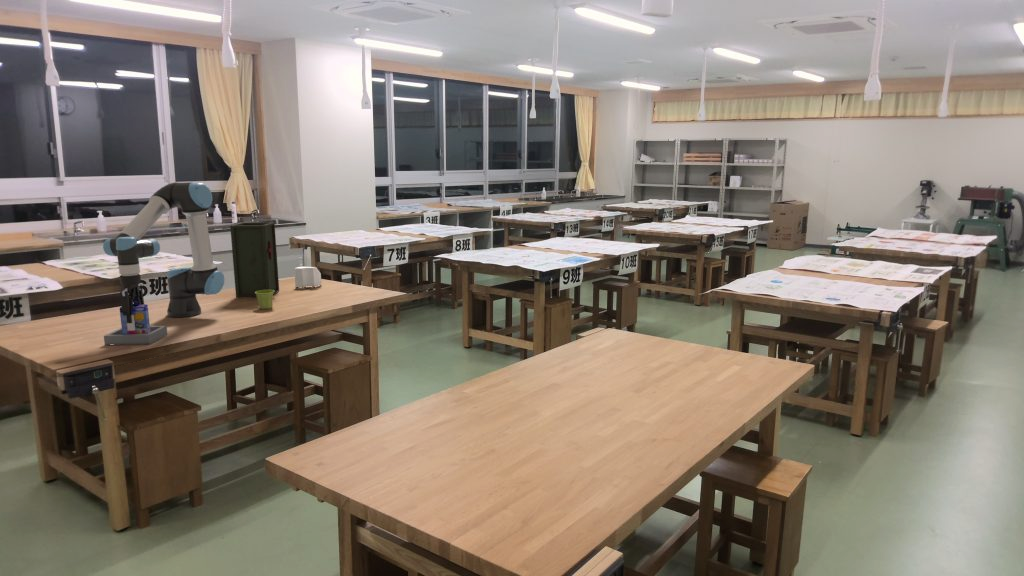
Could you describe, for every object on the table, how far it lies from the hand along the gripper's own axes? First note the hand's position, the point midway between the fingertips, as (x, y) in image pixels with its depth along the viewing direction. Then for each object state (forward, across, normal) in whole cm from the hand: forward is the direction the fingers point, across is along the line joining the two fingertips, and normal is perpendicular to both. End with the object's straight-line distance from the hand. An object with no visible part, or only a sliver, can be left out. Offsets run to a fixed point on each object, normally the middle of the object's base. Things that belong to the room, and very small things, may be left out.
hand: (135, 328), depth 282 cm
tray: (+5, 0, 0) cm, 5 cm away
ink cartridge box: (+3, 0, 0) cm, 3 cm away
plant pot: (+5, -61, +35) cm, 71 cm away
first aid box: (+5, -99, +19) cm, 101 cm away
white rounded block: (+5, -121, +42) cm, 128 cm away
